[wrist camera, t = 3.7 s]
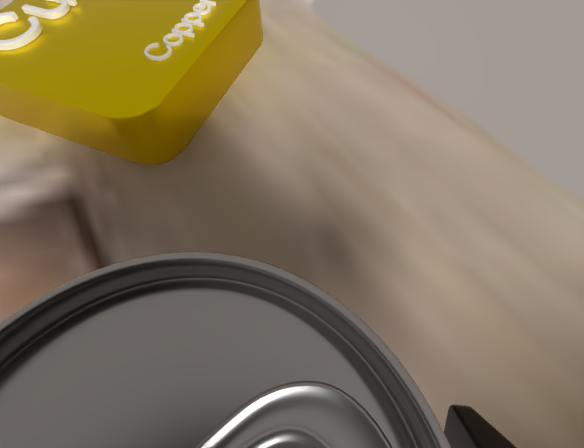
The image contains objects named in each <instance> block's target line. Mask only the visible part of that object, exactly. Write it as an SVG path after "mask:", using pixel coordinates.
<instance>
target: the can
mask: <svg viewBox="0 0 584 448" xmlns="http://www.w3.org/2000/svg"><path fill="white" fill-rule="evenodd" d="M0 448H451V446H450V444H449V442H448V440H447V438H446V436H445V434H444V432H443V430H442V428H441V426H440V424H439V422H438V420H437V418H436V416H435V414H434V413H433V411H432V409H431V407H430V406H429V404H428V402H427V401H426V399H425V397H424V396H423V394H422V392H421V391H420V389H419V388H418V386H417V385H416V383H415V382H414V380H413V379H412V377H411V376H410V374H409V373H408V372H407V370H406V369H405V368H404V366H403V365H402V364H401V362H400V361H399V360H398V358H397V357H396V356H395V355H394V353H393V352H392V351H391V350H390V349H389V347H388V346H387V345H386V344H385V343H384V342H383V341H382V340H381V339H380V337H379V336H378V335H377V334H376V333H375V332H374V331H373V330H372V329H371V328H370V327H369V326H368V325H367V324H366V323H365V322H364V321H362V320H361V319H360V318H359V317H358V316H357V315H356V314H355V313H353V312H352V311H351V310H350V309H349V308H347V307H346V306H345V305H343V304H342V303H341V302H340V301H338V300H337V299H335V298H334V297H333V296H331V295H330V294H328V293H327V292H325V291H324V290H322V289H321V288H319V287H317V286H316V285H314V284H312V283H310V282H309V281H307V280H305V279H303V278H301V277H299V276H297V275H295V274H293V273H290V272H288V271H286V270H283V269H281V268H278V267H276V266H273V265H270V264H267V263H264V262H260V261H257V260H253V259H249V258H245V257H240V256H235V255H229V254H221V253H210V252H176V253H165V254H157V255H151V256H145V257H140V258H135V259H131V260H127V261H123V262H119V263H116V264H113V265H110V266H106V267H104V268H101V269H98V270H95V271H93V272H90V273H88V274H85V275H83V276H80V277H78V278H76V279H74V280H71V281H69V282H67V283H65V284H63V285H61V286H59V287H57V288H55V289H53V290H52V291H50V292H48V293H46V294H44V295H43V296H41V297H39V298H37V299H36V300H34V301H32V302H31V303H29V304H28V305H26V306H24V307H23V308H21V309H20V310H18V311H17V312H16V313H14V314H13V315H11V316H10V317H8V318H7V319H6V320H4V321H3V322H1V323H0Z"/></svg>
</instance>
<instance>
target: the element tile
mask: <svg viewBox="0 0 584 448" xmlns="http://www.w3.org/2000/svg"><path fill="white" fill-rule="evenodd" d="M262 41H263V29H262V20H261V11H260V3H259V0H14V1H13V2H11V3H10V4H9V5H7V6H6V7H4V8H3V9H1V10H0V115H2V116H3V117H5V118H8V119H11V120H14V121H17V122H19V123H22V124H25V125H28V126H31V127H34V128H37V129H40V130H42V131H45V132H48V133H51V134H54V135H57V136H60V137H63V138H66V139H68V140H71V141H74V142H77V143H80V144H83V145H86V146H89V147H91V148H94V149H97V150H100V151H103V152H106V153H109V154H112V155H115V156H117V157H120V158H123V159H126V160H129V161H132V162H135V163H139V164H145V165H147V164H160V163H163V162H166V161H169V160H170V159H172V158H173V157H175V156H176V155H178V154H179V153H180V152H181V151H182V150H183V149H184V148H185V147H186V146H187V145H188V143H189V142H190V141H191V139H192V138H193V137H194V135H195V134H196V132H197V131H198V130H199V128H200V127H201V126H202V124H203V123H204V122H205V120H206V119H207V118H208V116H209V115H210V113H211V112H212V111H213V109H214V108H215V107H216V105H217V104H218V103H219V101H220V100H221V98H222V97H223V96H224V94H225V93H226V92H227V90H228V89H229V88H230V86H231V85H232V84H233V82H234V81H235V79H236V78H237V77H238V75H239V74H240V73H241V71H242V70H243V69H244V67H245V66H246V64H247V63H248V62H249V60H250V59H251V58H252V56H253V55H254V54H255V52H256V51H257V49H258V48H259V47H260V45H261V43H262Z"/></svg>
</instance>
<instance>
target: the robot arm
mask: <svg viewBox="0 0 584 448" xmlns="http://www.w3.org/2000/svg"><path fill="white" fill-rule="evenodd" d="M444 434H445V436H446V438H447V440H448V442H449V444H450V446H451V448H516V447H515V446H514V445H513V444H512V443H511V442H510V441H508V440H507V439H506V438H505V437H504V436H503V435H502V434H501V433H499V432H498V431H497V430H496V429H495V428H494V427H493V426H492V425H490V424H489V423H488V422H487V421H486V420H485V419H484V418H483V417H481V416H480V415H479V414H478V413H477V412H476V411H475V410H474V409H472V408H471V407H469V406H463V405H451V406H450V407H449V410H448V414H447V419H446V424H445V429H444Z"/></svg>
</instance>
